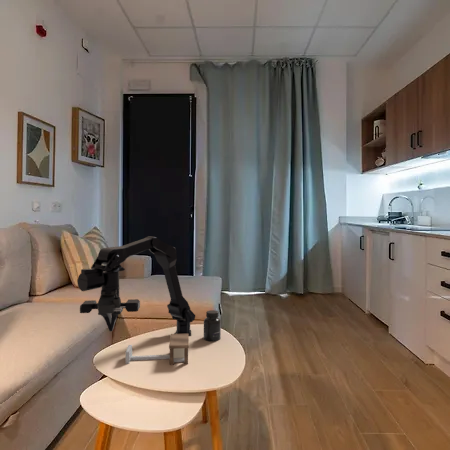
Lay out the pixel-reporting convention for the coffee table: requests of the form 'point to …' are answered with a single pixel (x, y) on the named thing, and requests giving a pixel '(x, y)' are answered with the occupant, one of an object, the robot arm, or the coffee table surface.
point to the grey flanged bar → (147, 356)
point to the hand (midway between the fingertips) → (111, 330)
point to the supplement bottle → (212, 326)
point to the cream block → (179, 353)
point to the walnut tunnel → (179, 346)
